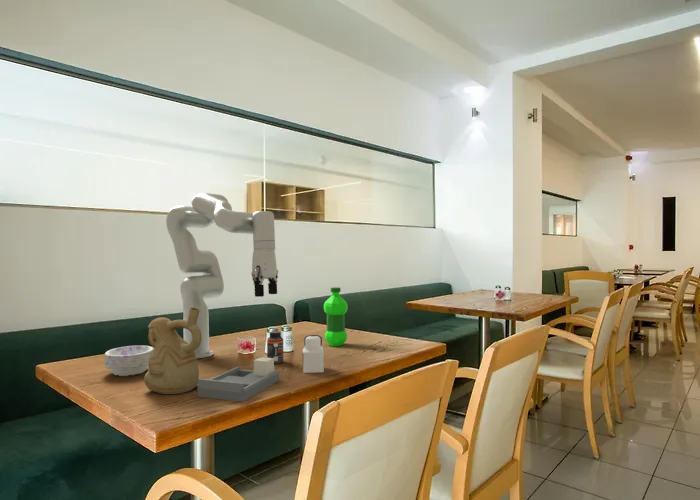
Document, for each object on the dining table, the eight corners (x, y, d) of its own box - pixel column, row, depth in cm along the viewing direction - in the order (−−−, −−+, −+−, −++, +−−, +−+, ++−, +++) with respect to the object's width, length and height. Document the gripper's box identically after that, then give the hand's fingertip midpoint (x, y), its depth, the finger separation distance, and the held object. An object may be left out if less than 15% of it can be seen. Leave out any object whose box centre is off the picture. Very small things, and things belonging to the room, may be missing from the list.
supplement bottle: (280, 364, 169) (279, 333, 169) (264, 363, 170) (264, 333, 170) (285, 360, 174) (285, 330, 174) (270, 359, 176) (270, 330, 176)
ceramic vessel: (170, 378, 152) (169, 302, 152) (218, 384, 144) (218, 304, 144) (127, 393, 136) (126, 308, 136) (179, 401, 129) (178, 312, 128)
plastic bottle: (333, 341, 209) (333, 286, 209) (352, 344, 203) (352, 287, 203) (319, 345, 201) (318, 288, 201) (338, 348, 195) (338, 289, 194)
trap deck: (197, 396, 133) (197, 379, 133) (238, 376, 153) (238, 361, 153) (243, 401, 128) (242, 383, 128) (279, 380, 148) (279, 364, 148)
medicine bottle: (303, 367, 164) (302, 334, 164) (323, 367, 164) (323, 333, 164) (302, 373, 157) (302, 338, 157) (323, 372, 157) (323, 337, 157)
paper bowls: (106, 381, 148) (106, 357, 148) (103, 371, 161) (103, 348, 161) (157, 374, 156) (157, 351, 156) (150, 365, 169) (149, 343, 169)
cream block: (253, 375, 146) (253, 360, 146) (261, 371, 150) (261, 357, 150) (266, 376, 144) (266, 361, 144) (273, 372, 149) (273, 358, 149)
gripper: (266, 247, 172) (268, 293, 171) (241, 246, 155) (243, 297, 155) (285, 246, 169) (286, 293, 169) (261, 245, 153) (263, 297, 152)
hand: (266, 295), depth 162 cm, fingers open, 9 cm apart
